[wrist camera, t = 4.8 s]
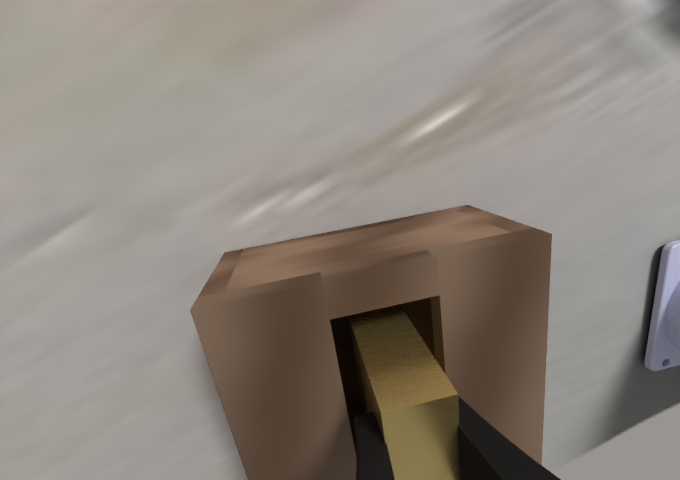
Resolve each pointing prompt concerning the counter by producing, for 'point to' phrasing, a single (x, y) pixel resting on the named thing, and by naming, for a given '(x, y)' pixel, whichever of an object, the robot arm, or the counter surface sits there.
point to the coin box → (365, 295)
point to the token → (406, 395)
